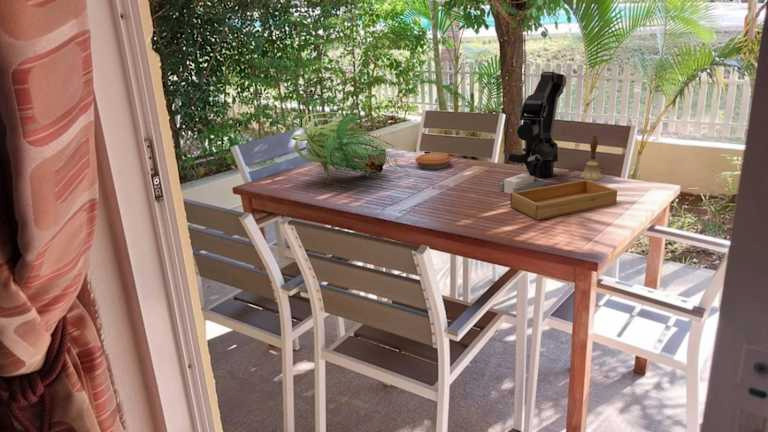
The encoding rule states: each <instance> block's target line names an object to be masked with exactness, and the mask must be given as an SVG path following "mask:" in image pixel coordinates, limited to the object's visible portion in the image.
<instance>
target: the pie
mask: <svg viewBox="0 0 768 432" xmlns="http://www.w3.org/2000/svg"><path fill="white" fill-rule="evenodd" d="M452 159H453V157H452V156H450V155H449V154H447V153H444V152H428V153H421V154H420V155H418V156H417V157H415V158H414V161H415V163H416V164H418V166H419V167H420V168H421V169H423V170H425V171H426V170H427V171H438V170H445V169H446V168H447V167H448V166H449V164H450V162H451V161H452Z"/></svg>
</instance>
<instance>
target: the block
mask: <svg viewBox="0 0 768 432" xmlns="http://www.w3.org/2000/svg"><path fill="white" fill-rule="evenodd" d="M534 179H535V177H534V176H531V175H530V174H527V173H521V174H518V175H515V176H514V175H513V176H511V177H508V178H505V179H504V180H503V182H504V191H503V192H504V193H505V192H506V194H509V193H510V194H509V195H511V193H512V192H513V187H517V186H521V185H525V184H529V183H532V182H534Z"/></svg>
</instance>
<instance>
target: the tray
mask: <svg viewBox="0 0 768 432" xmlns="http://www.w3.org/2000/svg"><path fill="white" fill-rule="evenodd" d="M617 199H618V189H614V188H612V187H609V186H606V185H603V184H599V183H598V182H594V181H593V180H588V179H583V180H582V179H581V180H574V181H570V182H569V181H568V182H563V183H560V184H559V183H558V184H553V185H547V186H543V187H540V188H535V189H529V190H523V191H518V192H512V193H511V194H510V201H509V203H510V205H509V206H510V208H512V209H514V210H517V211H518V212H521V214H525V215H526V216H528V217H530V218H532V219H535V220H536V221H539V220H543V219H548V218H554V217H558V216H565V215H568V214H573V213H574V214H575V213H579V212H584V211H589V210H595V209H599V208H600V209H601V208H605V207H610V206H614V205H616V204H617V201H618V200H617Z"/></svg>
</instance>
